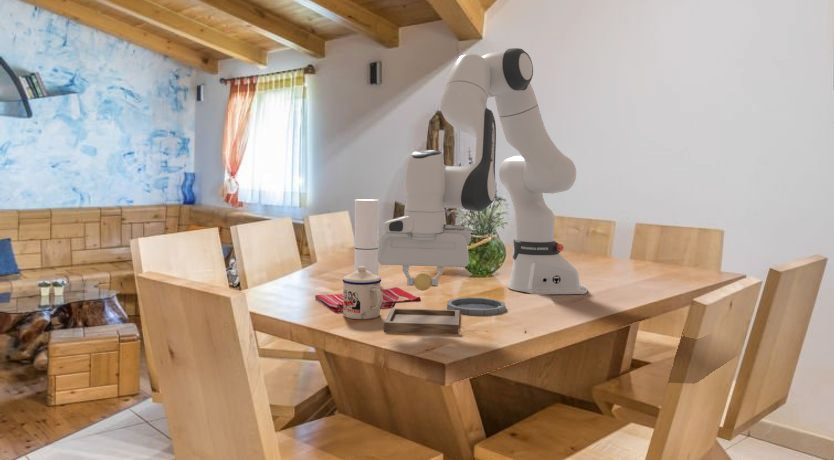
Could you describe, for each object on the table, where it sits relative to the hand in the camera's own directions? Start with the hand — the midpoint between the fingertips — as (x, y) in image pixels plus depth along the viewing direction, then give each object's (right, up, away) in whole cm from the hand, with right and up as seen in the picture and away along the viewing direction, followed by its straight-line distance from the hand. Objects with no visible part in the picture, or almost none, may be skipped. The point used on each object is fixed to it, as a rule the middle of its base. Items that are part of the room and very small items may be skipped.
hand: (422, 285), depth 146 cm
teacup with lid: (-13, -8, +8) cm, 18 cm away
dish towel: (-14, -7, +24) cm, 29 cm away
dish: (+13, -8, +14) cm, 21 cm away
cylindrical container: (-16, -4, +49) cm, 52 cm away
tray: (0, -9, +1) cm, 9 cm away
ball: (0, -1, 0) cm, 1 cm away
